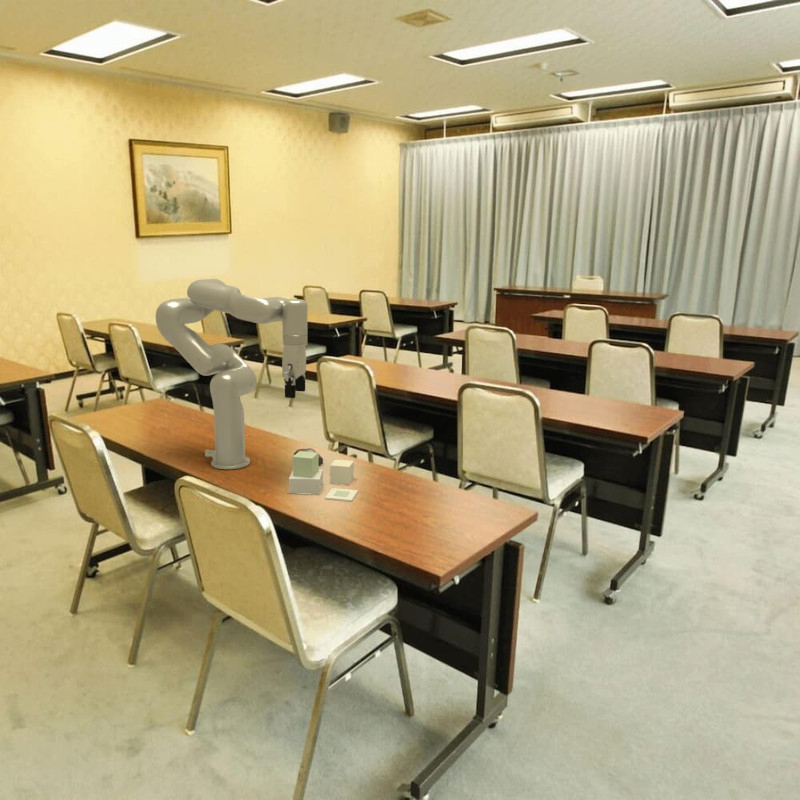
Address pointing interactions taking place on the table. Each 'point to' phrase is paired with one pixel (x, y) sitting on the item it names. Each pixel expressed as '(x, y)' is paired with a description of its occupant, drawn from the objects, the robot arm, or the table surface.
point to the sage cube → (305, 464)
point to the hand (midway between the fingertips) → (295, 394)
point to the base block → (306, 483)
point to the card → (341, 494)
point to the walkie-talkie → (310, 451)
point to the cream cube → (342, 471)
